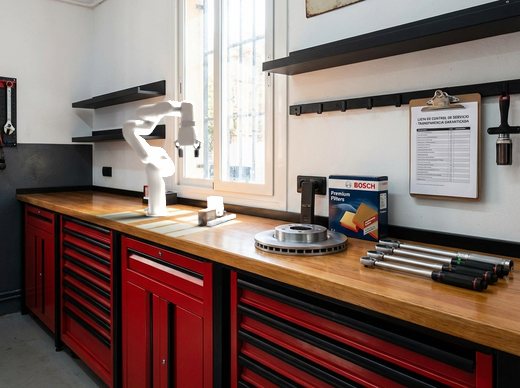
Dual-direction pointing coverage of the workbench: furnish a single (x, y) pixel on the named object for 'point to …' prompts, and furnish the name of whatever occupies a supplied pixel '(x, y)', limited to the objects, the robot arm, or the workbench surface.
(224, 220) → the cleat rail
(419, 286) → the workbench surface
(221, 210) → the mug
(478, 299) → the workbench surface
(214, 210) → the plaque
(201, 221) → the screw pegs
